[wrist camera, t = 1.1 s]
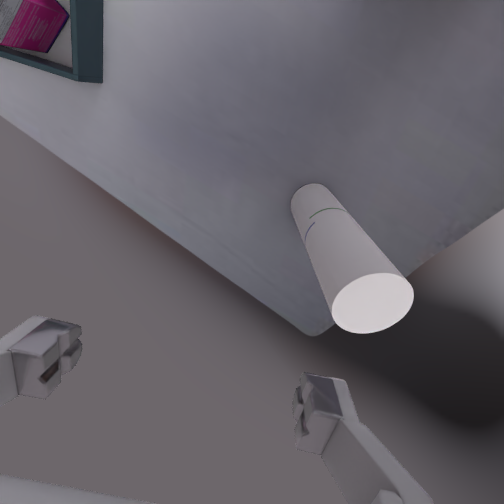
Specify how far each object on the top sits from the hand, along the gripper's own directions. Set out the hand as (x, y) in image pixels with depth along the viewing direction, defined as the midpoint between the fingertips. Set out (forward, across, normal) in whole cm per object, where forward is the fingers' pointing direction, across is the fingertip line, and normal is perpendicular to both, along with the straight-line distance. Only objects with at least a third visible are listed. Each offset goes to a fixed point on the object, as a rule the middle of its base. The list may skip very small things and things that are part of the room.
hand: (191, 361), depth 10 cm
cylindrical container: (+38, -10, -1) cm, 39 cm away
